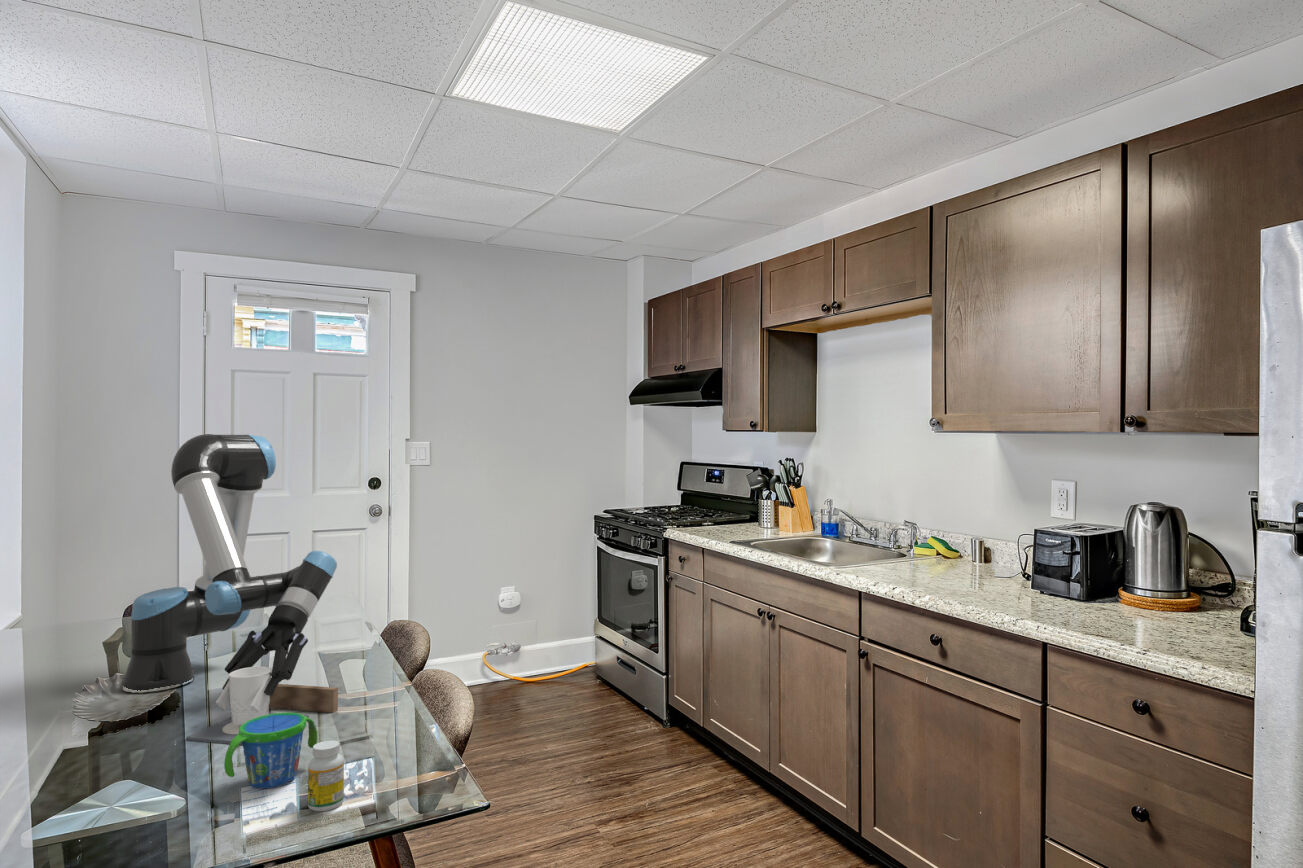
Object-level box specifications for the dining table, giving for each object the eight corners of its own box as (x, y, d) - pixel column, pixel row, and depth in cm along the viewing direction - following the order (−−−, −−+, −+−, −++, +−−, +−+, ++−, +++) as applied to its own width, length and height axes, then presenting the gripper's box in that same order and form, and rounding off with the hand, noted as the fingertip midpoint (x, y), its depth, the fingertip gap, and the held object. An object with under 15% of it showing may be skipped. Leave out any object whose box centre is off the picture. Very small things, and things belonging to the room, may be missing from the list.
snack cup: (237, 806, 120) (237, 742, 120) (212, 788, 127) (213, 727, 127) (330, 774, 132) (331, 716, 132) (303, 759, 139) (304, 704, 139)
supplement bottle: (344, 808, 119) (344, 747, 119) (307, 815, 117) (307, 753, 117) (343, 794, 124) (343, 736, 124) (308, 801, 122) (308, 741, 122)
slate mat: (186, 740, 149) (186, 736, 149) (246, 713, 164) (246, 709, 164) (254, 746, 145) (254, 742, 145) (308, 718, 161) (308, 714, 161)
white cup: (252, 727, 150) (253, 678, 151) (219, 725, 152) (219, 676, 152) (279, 714, 158) (279, 667, 158) (247, 712, 160) (247, 665, 160)
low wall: (248, 706, 169) (249, 684, 169) (253, 704, 171) (253, 682, 171) (333, 712, 164) (333, 689, 165) (337, 710, 166) (337, 687, 166)
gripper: (339, 623, 168) (289, 719, 152) (262, 619, 173) (205, 713, 156) (324, 604, 163) (271, 702, 147) (245, 601, 168) (185, 695, 151)
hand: (237, 707), depth 152 cm, fingers closed on white cup, 8 cm apart
